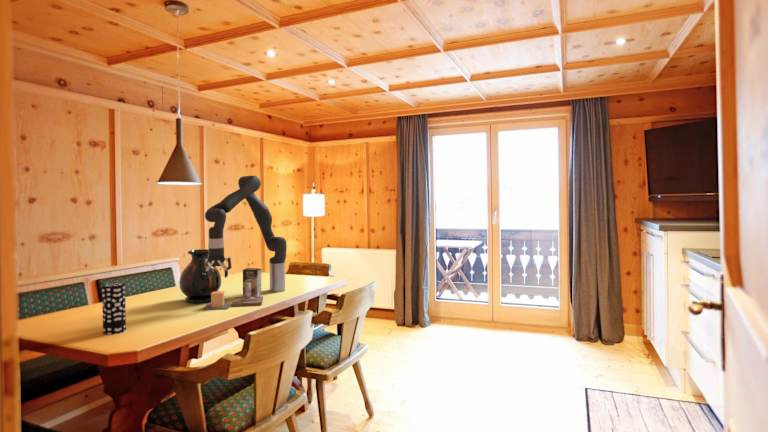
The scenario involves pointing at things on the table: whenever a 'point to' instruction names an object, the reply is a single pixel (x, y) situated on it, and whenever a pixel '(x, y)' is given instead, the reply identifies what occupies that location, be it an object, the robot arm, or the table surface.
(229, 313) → the table surface
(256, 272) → the coffee box
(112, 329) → the white-spotted black cylinder
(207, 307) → the mat
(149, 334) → the table surface
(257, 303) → the post stand
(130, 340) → the table surface
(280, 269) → the robot arm
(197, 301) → the dark brown ceramic vase
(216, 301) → the pinkish tan block
